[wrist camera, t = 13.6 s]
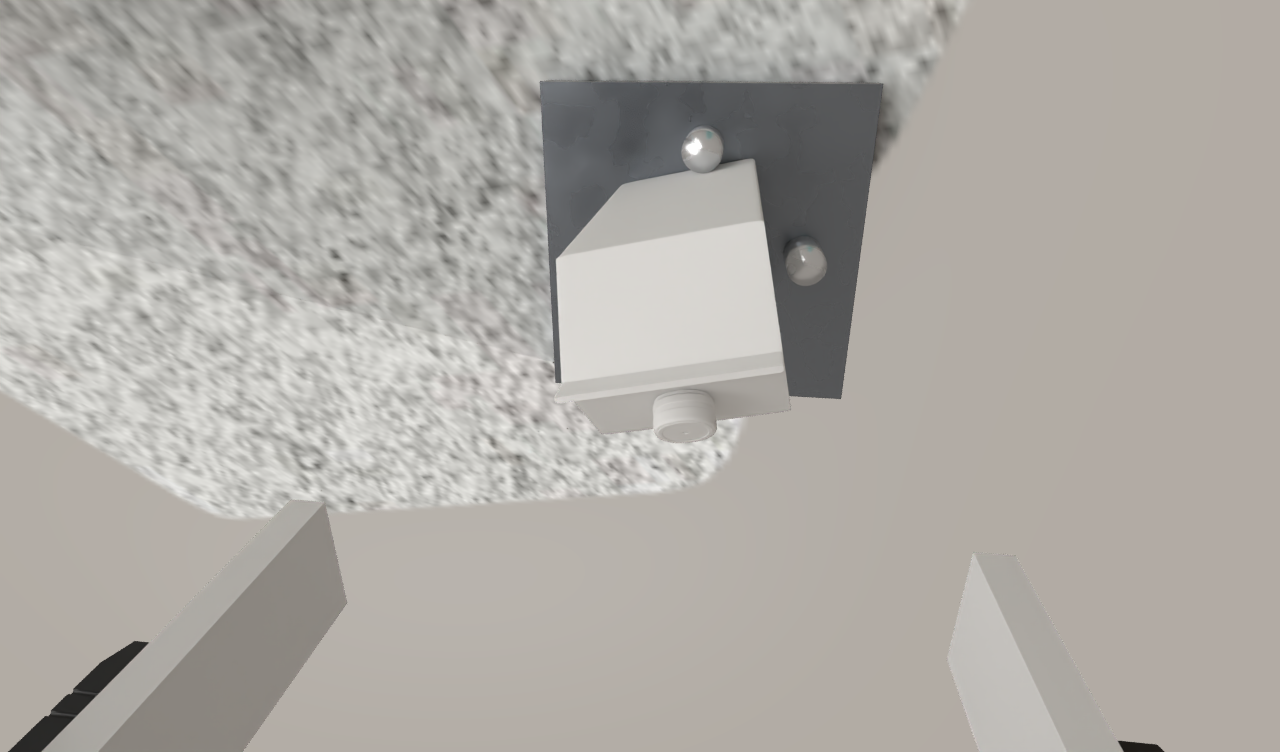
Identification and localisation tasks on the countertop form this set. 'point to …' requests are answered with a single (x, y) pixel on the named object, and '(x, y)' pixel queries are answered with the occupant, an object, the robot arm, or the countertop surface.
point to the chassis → (721, 133)
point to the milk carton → (672, 308)
